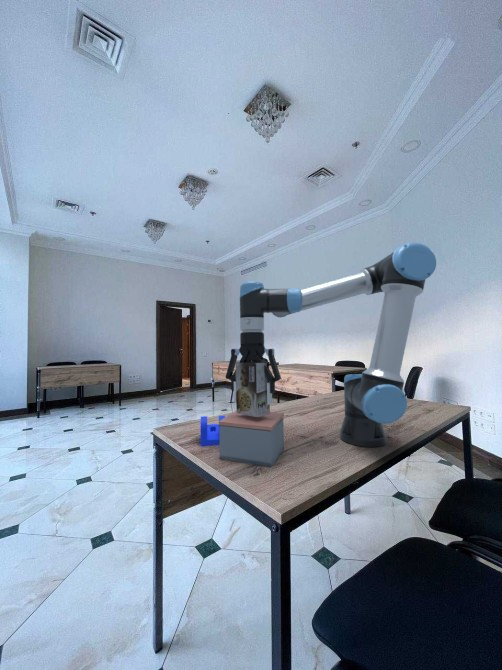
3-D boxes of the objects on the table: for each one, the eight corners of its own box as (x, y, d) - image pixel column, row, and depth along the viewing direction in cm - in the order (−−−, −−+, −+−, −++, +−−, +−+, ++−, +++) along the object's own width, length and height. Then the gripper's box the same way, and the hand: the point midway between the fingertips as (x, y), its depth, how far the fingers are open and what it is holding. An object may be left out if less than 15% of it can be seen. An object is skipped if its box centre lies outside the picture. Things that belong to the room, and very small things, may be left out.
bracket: (225, 445, 94) (225, 418, 94) (200, 446, 93) (200, 419, 93) (223, 428, 112) (223, 406, 112) (202, 430, 110) (202, 407, 111)
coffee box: (270, 413, 86) (270, 361, 86) (256, 418, 81) (256, 362, 81) (249, 409, 92) (248, 360, 92) (235, 413, 87) (234, 361, 88)
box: (283, 448, 90) (283, 418, 90) (271, 467, 77) (270, 431, 77) (238, 442, 95) (238, 414, 96) (219, 458, 82) (219, 425, 83)
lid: (283, 416, 90) (283, 413, 90) (271, 430, 77) (271, 427, 77) (237, 412, 96) (237, 409, 96) (218, 424, 83) (218, 421, 83)
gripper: (214, 332, 88) (214, 402, 87) (284, 330, 79) (285, 408, 79) (224, 333, 95) (225, 398, 94) (290, 331, 86) (291, 402, 86)
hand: (252, 402), depth 86 cm, fingers closed on coffee box, 10 cm apart
